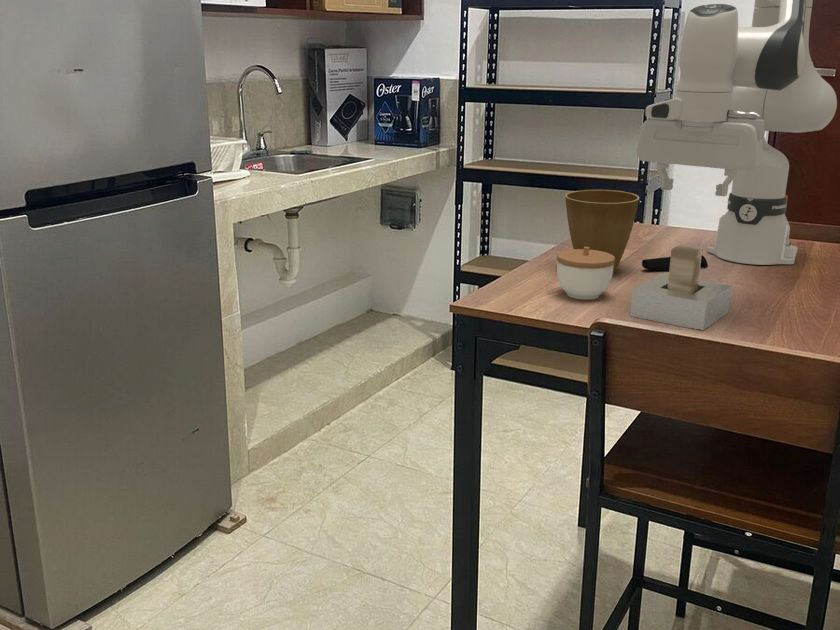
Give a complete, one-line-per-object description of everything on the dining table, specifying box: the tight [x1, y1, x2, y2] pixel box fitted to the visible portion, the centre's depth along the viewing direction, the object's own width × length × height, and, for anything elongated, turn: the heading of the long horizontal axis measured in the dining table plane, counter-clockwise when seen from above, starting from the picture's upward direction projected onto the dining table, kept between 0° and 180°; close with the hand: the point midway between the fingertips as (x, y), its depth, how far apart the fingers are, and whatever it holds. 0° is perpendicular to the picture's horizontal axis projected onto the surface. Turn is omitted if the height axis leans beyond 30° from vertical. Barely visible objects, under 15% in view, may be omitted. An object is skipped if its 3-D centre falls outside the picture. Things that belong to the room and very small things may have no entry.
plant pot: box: [564, 189, 640, 274], centre depth 176 cm, size 15×15×16 cm
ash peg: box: [667, 244, 703, 294], centre depth 148 cm, size 4×4×12 cm
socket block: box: [630, 273, 733, 331], centre depth 150 cm, size 13×13×5 cm
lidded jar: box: [556, 247, 615, 301], centre depth 160 cm, size 11×11×9 cm
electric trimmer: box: [641, 254, 709, 271], centre depth 180 cm, size 4×16×3 cm, turn 110°
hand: (693, 192), depth 144 cm, fingers open, 8 cm apart
